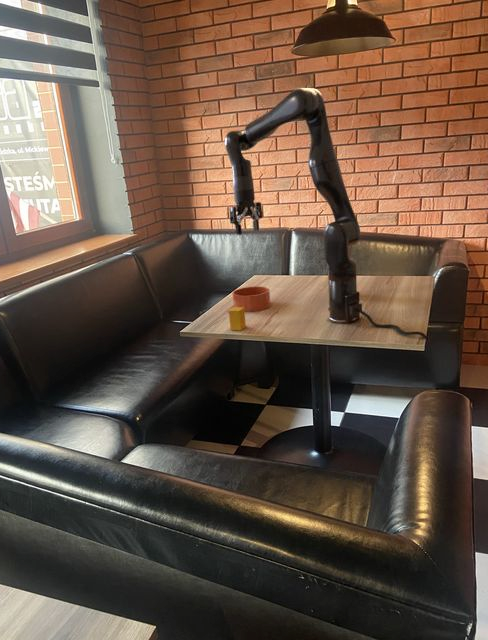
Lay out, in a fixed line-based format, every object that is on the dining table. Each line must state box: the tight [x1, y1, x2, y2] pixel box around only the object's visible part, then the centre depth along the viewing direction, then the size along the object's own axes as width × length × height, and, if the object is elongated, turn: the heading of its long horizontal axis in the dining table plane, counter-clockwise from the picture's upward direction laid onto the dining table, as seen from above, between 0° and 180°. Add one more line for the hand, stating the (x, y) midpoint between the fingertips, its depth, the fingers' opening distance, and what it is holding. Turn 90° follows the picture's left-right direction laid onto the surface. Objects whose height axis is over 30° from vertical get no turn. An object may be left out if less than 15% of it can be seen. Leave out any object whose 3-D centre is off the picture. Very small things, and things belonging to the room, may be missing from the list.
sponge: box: [228, 306, 247, 331], centre depth 184 cm, size 4×4×7 cm
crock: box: [232, 285, 271, 313], centre depth 208 cm, size 14×14×6 cm
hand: (247, 232), depth 203 cm, fingers open, 8 cm apart
